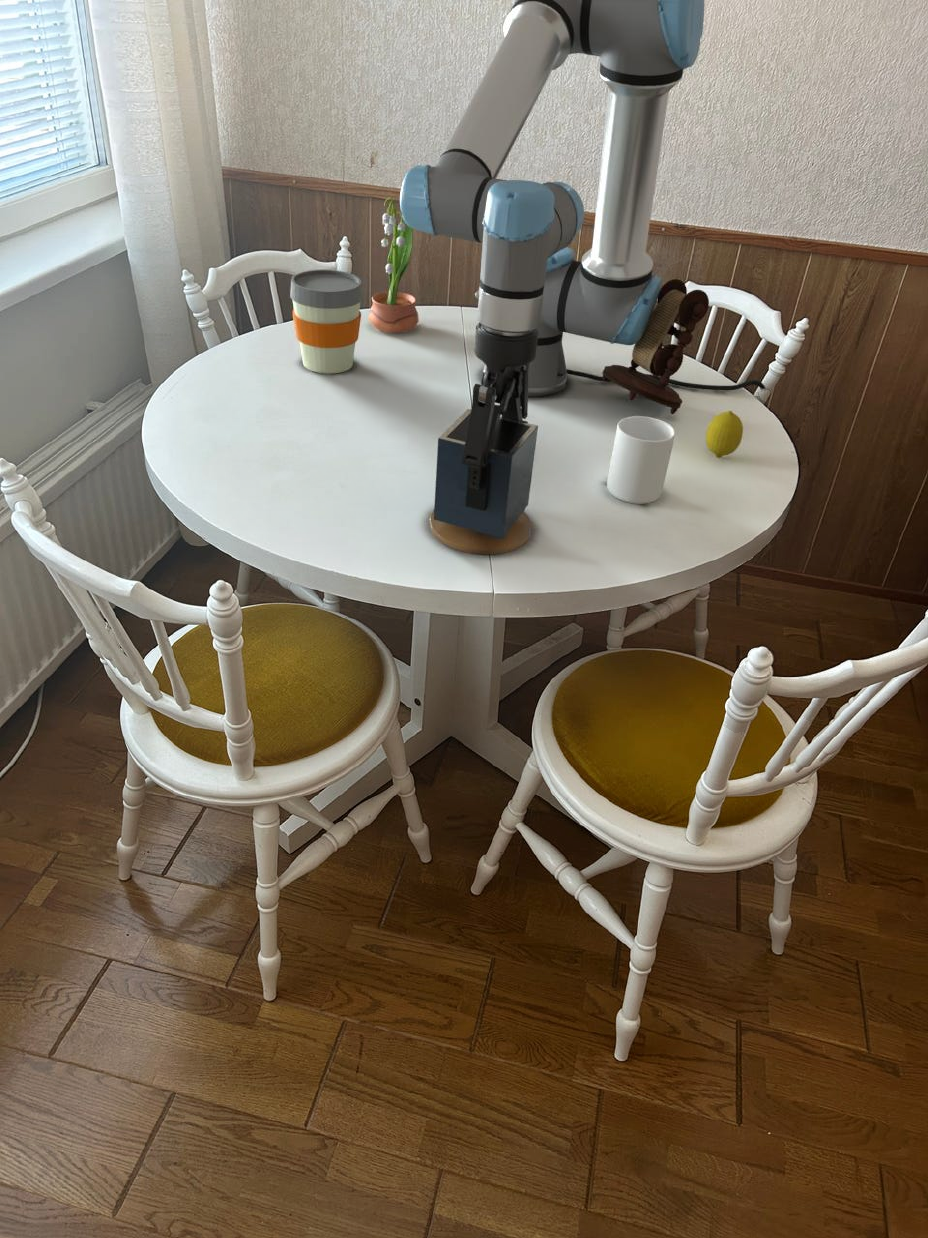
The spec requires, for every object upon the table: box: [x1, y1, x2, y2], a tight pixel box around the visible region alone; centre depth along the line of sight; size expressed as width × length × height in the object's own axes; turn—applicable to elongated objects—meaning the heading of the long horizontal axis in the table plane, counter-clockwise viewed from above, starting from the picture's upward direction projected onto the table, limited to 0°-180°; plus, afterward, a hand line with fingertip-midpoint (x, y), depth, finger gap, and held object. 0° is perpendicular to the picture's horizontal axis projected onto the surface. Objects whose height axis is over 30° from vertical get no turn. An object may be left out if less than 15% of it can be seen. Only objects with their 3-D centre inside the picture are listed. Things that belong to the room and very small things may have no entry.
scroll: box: [601, 278, 710, 415], centre depth 157 cm, size 15×15×20 cm
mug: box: [606, 415, 676, 505], centre depth 136 cm, size 12×8×10 cm
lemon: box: [705, 410, 744, 459], centre depth 147 cm, size 6×6×8 cm
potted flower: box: [368, 196, 419, 334], centre depth 177 cm, size 12×10×25 cm
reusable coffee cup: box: [289, 269, 363, 374], centre depth 164 cm, size 12×12×15 cm
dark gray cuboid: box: [433, 408, 539, 539], centre depth 122 cm, size 12×10×10 cm
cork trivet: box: [429, 509, 532, 555], centre depth 127 cm, size 14×14×1 cm
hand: (491, 489), depth 123 cm, fingers closed on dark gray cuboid, 10 cm apart
